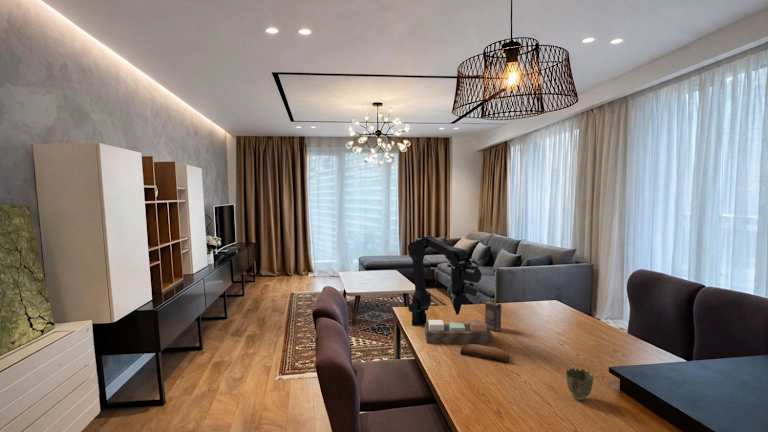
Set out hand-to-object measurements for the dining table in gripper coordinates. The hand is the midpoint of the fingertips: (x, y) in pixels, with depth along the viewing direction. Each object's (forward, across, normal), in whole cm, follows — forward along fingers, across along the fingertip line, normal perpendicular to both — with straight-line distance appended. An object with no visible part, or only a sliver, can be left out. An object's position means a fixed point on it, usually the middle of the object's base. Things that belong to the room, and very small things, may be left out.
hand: (457, 314), depth 158 cm
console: (+11, 0, 0) cm, 11 cm away
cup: (+11, -46, -29) cm, 56 cm away
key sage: (+9, 0, 0) cm, 9 cm away
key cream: (+8, 0, +9) cm, 12 cm away
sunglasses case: (+11, -16, -8) cm, 21 cm away
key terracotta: (+8, 0, -9) cm, 12 cm away
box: (+11, +12, -18) cm, 25 cm away
